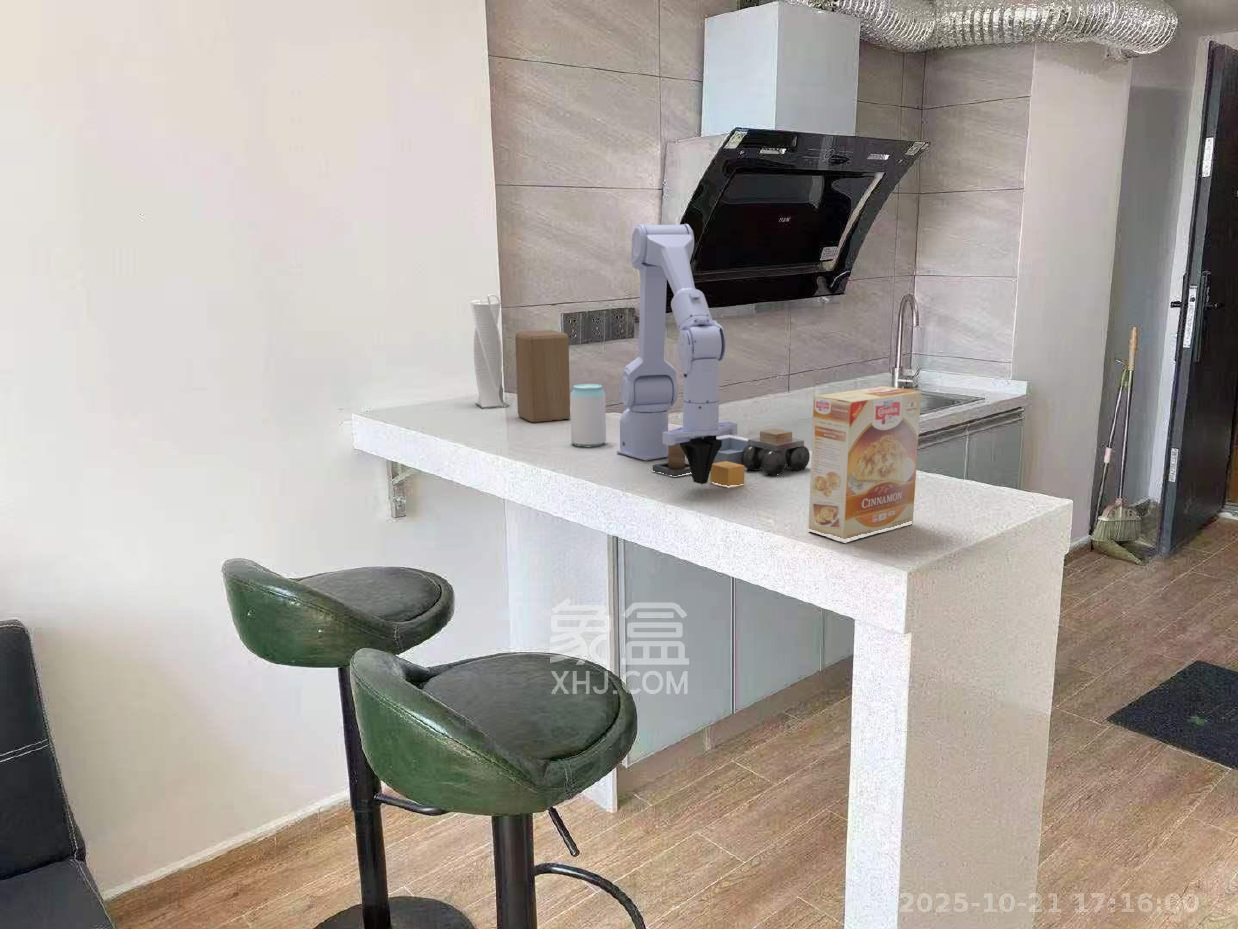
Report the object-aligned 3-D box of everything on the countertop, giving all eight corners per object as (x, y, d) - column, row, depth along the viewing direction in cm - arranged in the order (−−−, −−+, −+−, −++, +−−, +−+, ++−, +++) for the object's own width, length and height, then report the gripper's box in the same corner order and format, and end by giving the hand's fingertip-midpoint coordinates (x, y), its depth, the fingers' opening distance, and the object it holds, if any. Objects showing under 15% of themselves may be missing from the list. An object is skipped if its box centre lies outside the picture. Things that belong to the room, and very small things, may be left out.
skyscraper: (511, 407, 242) (507, 293, 235) (479, 410, 239) (474, 294, 232) (502, 402, 249) (498, 292, 243) (471, 405, 246) (466, 292, 240)
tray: (687, 458, 183) (687, 444, 182) (730, 451, 189) (730, 436, 189) (727, 469, 174) (727, 453, 174) (770, 460, 181) (771, 445, 180)
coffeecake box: (845, 544, 131) (851, 401, 126) (805, 532, 136) (810, 394, 132) (915, 525, 139) (924, 390, 135) (876, 514, 145) (882, 384, 140)
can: (611, 442, 199) (611, 384, 196) (596, 449, 193) (595, 388, 190) (581, 439, 202) (579, 382, 199) (565, 446, 195) (563, 387, 193)
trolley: (740, 470, 173) (740, 432, 172) (781, 462, 180) (782, 425, 178) (768, 477, 168) (769, 438, 166) (809, 468, 174) (811, 430, 173)
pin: (664, 472, 173) (664, 438, 171) (677, 469, 175) (677, 436, 173) (675, 475, 170) (675, 441, 169) (688, 472, 172) (688, 439, 171)
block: (516, 416, 229) (513, 331, 224) (556, 413, 233) (554, 329, 229) (531, 423, 220) (528, 335, 216) (571, 420, 224) (570, 332, 220)
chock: (710, 484, 164) (710, 463, 164) (725, 480, 166) (726, 461, 166) (728, 489, 161) (728, 468, 160) (743, 485, 163) (744, 465, 162)
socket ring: (652, 471, 173) (652, 465, 173) (678, 466, 177) (678, 460, 176) (674, 477, 168) (674, 471, 168) (700, 472, 172) (700, 466, 172)
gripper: (682, 408, 150) (682, 494, 153) (750, 399, 158) (749, 480, 161) (654, 403, 155) (654, 485, 158) (721, 394, 163) (720, 472, 166)
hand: (700, 482), depth 160 cm, fingers closed
